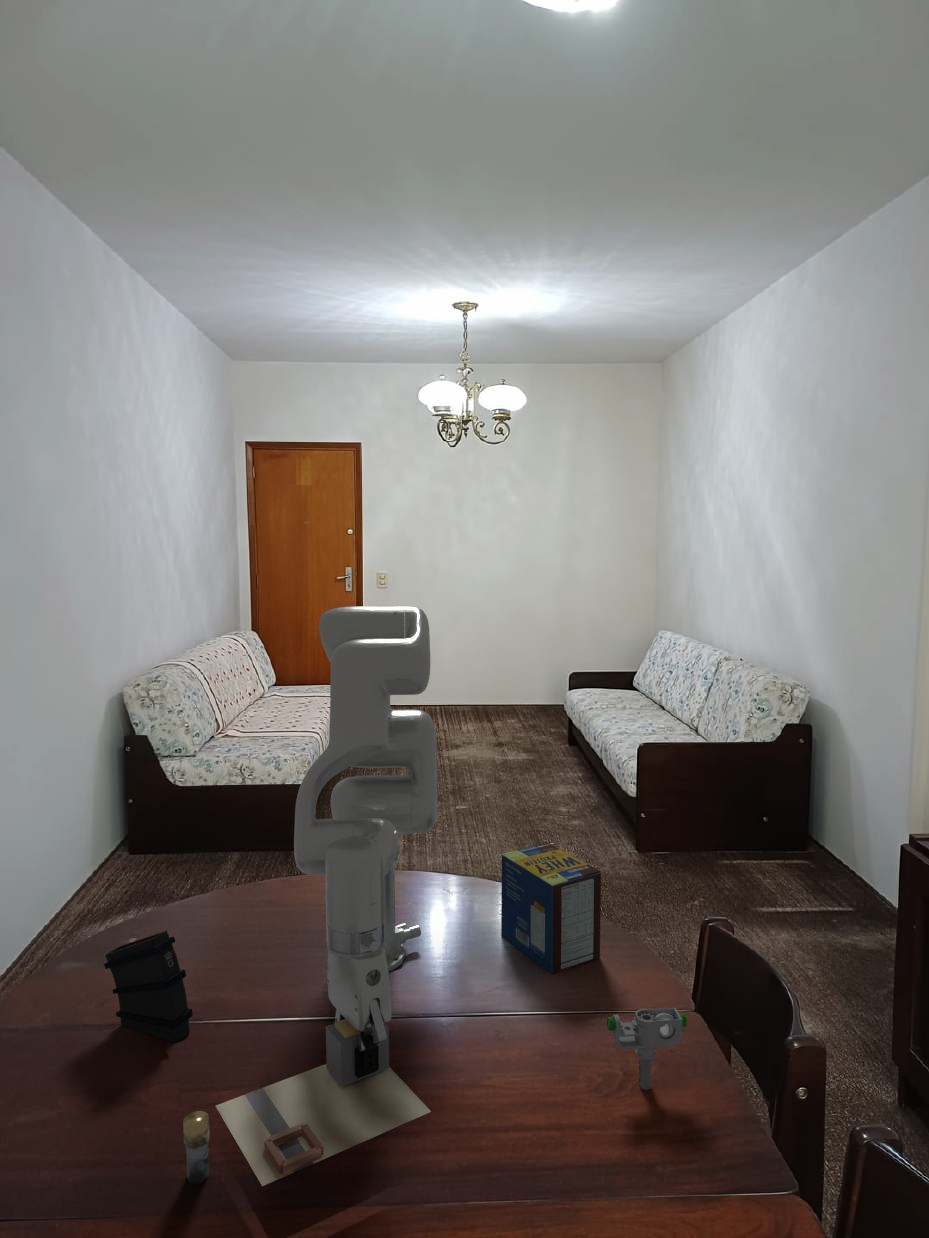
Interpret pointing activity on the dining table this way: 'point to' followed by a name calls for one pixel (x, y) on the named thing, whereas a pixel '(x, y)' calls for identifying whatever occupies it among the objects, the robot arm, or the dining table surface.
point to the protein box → (551, 906)
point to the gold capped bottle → (197, 1145)
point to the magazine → (150, 987)
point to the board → (315, 1118)
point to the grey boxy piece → (349, 1051)
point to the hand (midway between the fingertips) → (357, 1061)
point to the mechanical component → (648, 1035)
